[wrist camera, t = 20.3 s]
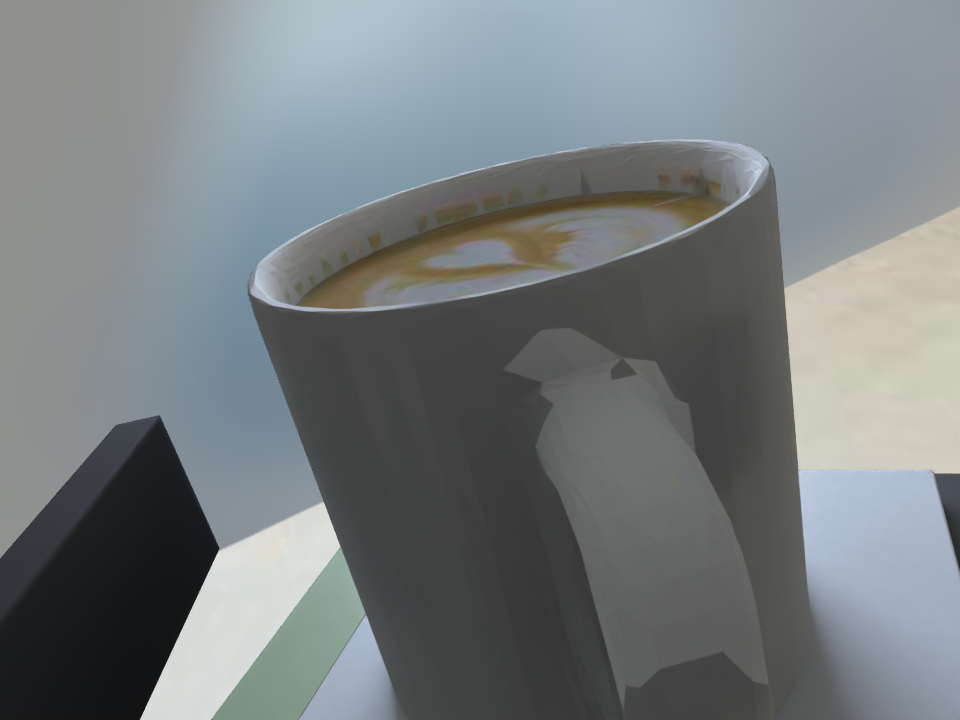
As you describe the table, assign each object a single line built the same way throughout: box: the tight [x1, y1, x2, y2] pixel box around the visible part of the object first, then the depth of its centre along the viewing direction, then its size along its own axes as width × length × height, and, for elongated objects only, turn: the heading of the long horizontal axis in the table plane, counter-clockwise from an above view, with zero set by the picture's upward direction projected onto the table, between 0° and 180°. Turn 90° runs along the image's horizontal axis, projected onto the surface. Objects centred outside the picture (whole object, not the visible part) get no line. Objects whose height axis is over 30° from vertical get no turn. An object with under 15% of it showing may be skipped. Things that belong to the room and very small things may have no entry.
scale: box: [211, 470, 960, 720], centre depth 18 cm, size 20×16×4 cm
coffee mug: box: [248, 139, 810, 720], centre depth 15 cm, size 13×10×10 cm
